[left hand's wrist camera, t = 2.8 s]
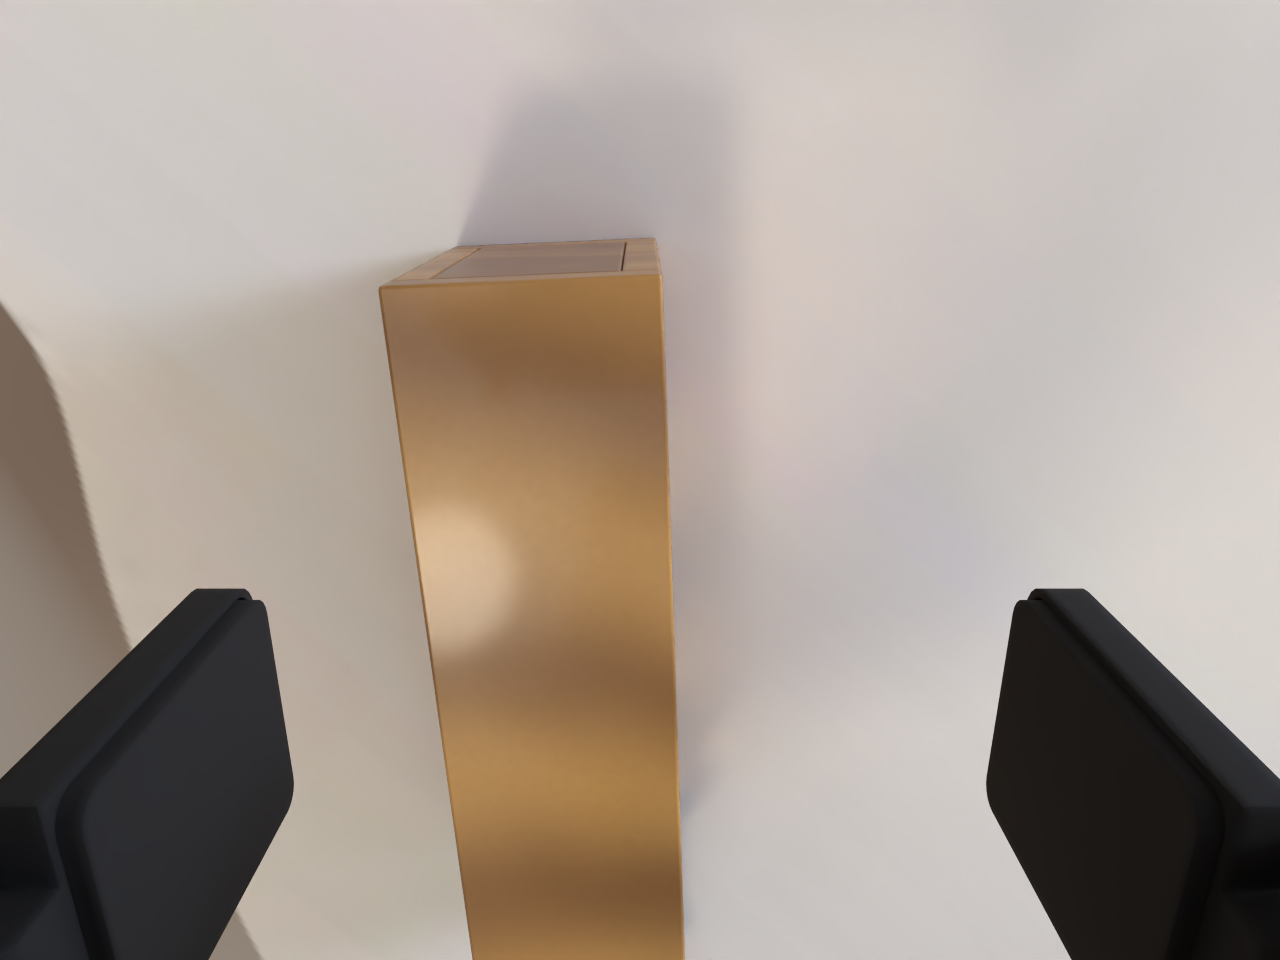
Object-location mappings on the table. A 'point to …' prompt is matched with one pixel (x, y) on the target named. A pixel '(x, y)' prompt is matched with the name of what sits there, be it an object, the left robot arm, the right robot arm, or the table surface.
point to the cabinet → (547, 586)
